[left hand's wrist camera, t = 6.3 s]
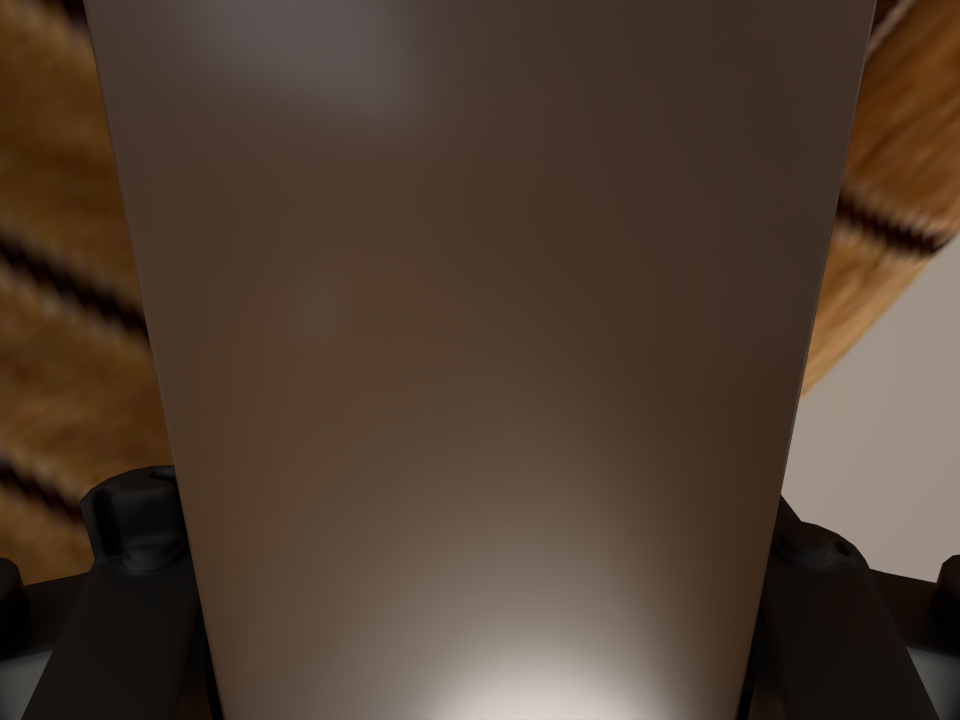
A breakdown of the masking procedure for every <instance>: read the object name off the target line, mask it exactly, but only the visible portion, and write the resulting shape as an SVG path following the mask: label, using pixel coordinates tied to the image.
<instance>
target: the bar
mask: <svg viewBox="0 0 960 720" xmlns="http://www.w3.org/2000/svg"><path fill="white" fill-rule="evenodd" d="M83 2H84V7H85V12H86V17H87V22H88V27H89V33H90V38H91V43H92V48H93V53H94V58H95V63H96V68H97V74H98V79H99V84H100V89H101V94H102V99H103V104H104V110H105V115H106V120H107V125H108V130H109V135H110V140H111V145H112V151H113V156H114V161H115V166H116V171H117V176H118V181H119V186H120V192H121V197H122V202H123V207H124V212H125V217H126V222H127V227H128V233H129V238H130V243H131V248H132V253H133V258H134V263H135V268H136V274H137V279H138V284H139V289H140V294H141V299H142V304H143V309H144V315H145V320H146V325H147V330H148V335H149V340H150V345H151V351H152V356H153V361H154V366H155V371H156V376H157V381H158V386H159V392H160V397H161V402H162V407H163V412H164V417H165V422H166V427H167V433H168V438H169V443H170V448H171V453H172V458H173V463H174V468H175V474H176V479H177V484H178V489H179V494H180V499H181V504H182V509H183V515H184V520H185V525H186V530H187V535H188V540H189V545H190V550H191V556H192V561H193V566H194V571H195V576H196V581H197V586H198V592H199V597H200V602H201V607H202V612H203V617H204V622H205V627H206V633H207V638H208V643H209V648H210V653H211V658H212V663H213V668H214V674H215V679H216V684H217V689H218V694H219V699H220V704H221V709H222V715H223V720H737V715H738V710H739V705H740V699H741V694H742V689H743V684H744V679H745V674H746V669H747V664H748V658H749V653H750V648H751V643H752V638H753V633H754V628H755V623H756V618H757V612H758V607H759V602H760V597H761V592H762V587H763V582H764V577H765V572H766V566H767V561H768V556H769V551H770V546H771V541H772V536H773V531H774V525H775V520H776V515H777V510H778V505H779V500H780V495H781V490H782V485H783V479H784V474H785V469H786V464H787V459H788V454H789V449H790V444H791V438H792V433H793V428H794V423H795V418H796V413H797V408H798V403H799V398H800V392H801V387H802V382H803V377H804V372H805V367H806V362H807V357H808V352H809V346H810V341H811V336H812V331H813V326H814V321H815V316H816V311H817V306H818V300H819V295H820V290H821V285H822V280H823V275H824V270H825V265H826V259H827V254H828V249H829V244H830V239H831V234H832V229H833V224H834V219H835V213H836V208H837V203H838V198H839V193H840V188H841V183H842V178H843V172H844V167H845V162H846V157H847V152H848V147H849V142H850V137H851V132H852V126H853V121H854V116H855V111H856V106H857V101H858V96H859V91H860V86H861V80H862V75H863V70H864V65H865V60H866V55H867V50H868V45H869V39H870V34H871V29H872V24H873V19H874V14H875V9H876V4H877V0H83Z"/></svg>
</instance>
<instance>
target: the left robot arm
mask: <svg viewBox="0 0 960 720" xmlns="http://www.w3.org/2000/svg"><path fill="white" fill-rule="evenodd" d="M80 505H81V508H82V512H83V516H84V520H85V524H86V528H87V531H88V535H89V539H90V543H91V547H92V551H93V554H94V558H95V561H94V563H93V565H92V567H91V570H90V572H86V573H83V574H79V575H75V576H70V577H65V578H60V579H56V580H51V581H46V582H41V583H36V584H31V585H26V586H24V585H23V582H22V578H21V575H20V572H19V569H18V566H16V565H15V564H14V563H13V562H11V561H10V560H9V559H7V558H0V720H223V715H222V709H221V704H220V699H219V694H218V689H217V684H216V679H215V674H214V668H213V663H212V658H211V653H210V648H209V643H208V638H207V633H206V627H205V622H204V617H203V612H202V607H201V602H200V597H199V592H198V586H197V581H196V576H195V571H194V566H193V561H192V556H191V550H190V545H189V540H188V535H187V530H186V525H185V520H184V515H183V509H182V504H181V499H180V494H179V489H178V484H177V479H176V474H175V468H174V465H167V466H150V467H145V468H140V469H135V470H130V471H128V472H125V473H122V474H119V475H117V476H114V477H111V478H109V479H107V480H105V481H104V482H102V483H100V484H99V485H97V486H95V487H94V488H92V489H91V490H90V491H89V492H88V493H87V494H86V495H85V496H84V497H83V498H82V499H81V500H80ZM737 720H960V555H953V556H951V557H950V558H949V559H948V560H946V561H945V562H944V563H943V564H942V567H941V570H940V573H939V576H938V580H937V583H934V582H929V581H924V580H919V579H914V578H909V577H904V576H899V575H894V574H889V573H884V572H881V571H877V570H873V569H870V568H869V566H868V564H867V562H866V560H865V558H864V557H863V556H862V554H861V553H860V552H859V551H858V549H857V548H856V547H855V546H854V545H853V544H852V543H850V542H849V541H847V540H846V539H844V538H843V537H841V536H840V535H839V534H837V533H835V532H832V531H830V530H828V529H825V528H823V527H820V526H818V525H815V524H811V523H806V522H802V521H801V520H800V519H799V518H798V516H797V515H796V514H795V512H794V511H793V510H792V508H791V507H790V506H789V504H788V503H787V502H786V501H785V499H784V498H783V497H782V495H780V500H779V505H778V510H777V515H776V520H775V525H774V531H773V536H772V541H771V546H770V551H769V556H768V561H767V566H766V572H765V577H764V582H763V587H762V592H761V597H760V602H759V607H758V612H757V618H756V623H755V628H754V633H753V638H752V643H751V648H750V653H749V658H748V664H747V669H746V674H745V679H744V684H743V689H742V694H741V699H740V705H739V710H738V715H737Z"/></svg>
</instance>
